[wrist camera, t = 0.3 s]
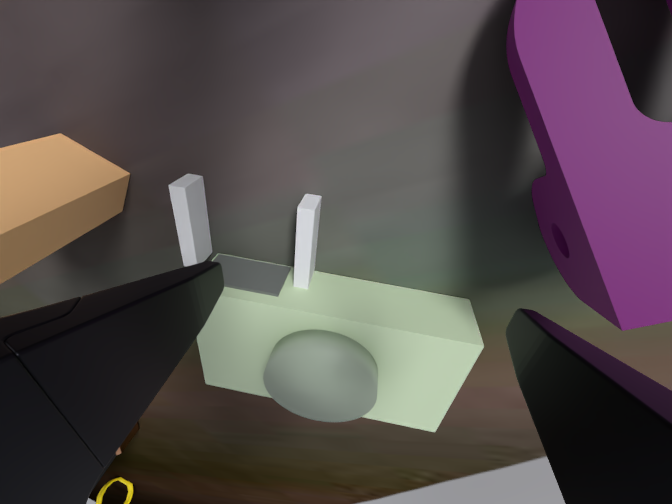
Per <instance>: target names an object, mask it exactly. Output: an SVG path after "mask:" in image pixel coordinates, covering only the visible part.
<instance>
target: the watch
mask: <svg viewBox="0 0 672 504" xmlns="http://www.w3.org/2000/svg"><path fill="white" fill-rule="evenodd" d="M117 480H119V481H120V482H122V483H124V484H125V485H127V487H128V495H127V499H126V501H125V502H124V504H129V503H130V501H131V499H132V495H133V491H134V490H133V484H132V483H130V482H129V481H127V480H125V479H123V478H122V477H118V478H115V479H112V480H110V481H109V482H108V483H106V484H105V485H104V486H103V487H102V489H101V490H100V492H99V494H98V496H97V501H96V504H101V503H102V497H103V494H104V492H105V491H106V489H107V487H108V486H110V485H111V484H112V483H113V482H114V481H117Z"/></svg>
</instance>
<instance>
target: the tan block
mask: <svg viewBox="0 0 672 504" xmlns="http://www.w3.org/2000/svg"><path fill="white" fill-rule="evenodd" d="M129 178H130V173H129V172H127V171H125V170H123V169H122V168H120V167H118V166H116V165H115V164H113V163H111V162H109V161H108V160H106V159H104V158H103V157H101V156H99V155H97V154H96V153H94V152H92V151H90V150H89V149H87V148H85V147H84V146H82V145H80V144H78V143H77V142H75V141H73V140H71V139H70V138H68V137H66V136H64V135H63V134H61V133H60V134H56V135H52V136H47V137H43V138H39V139H35V140H31V141H27V142H23V143H19V144H15V145H11V146H7V147H3V148H0V284H1V283H3V282H5V281H6V280H8V279H10V278H11V277H13V276H15V275H16V274H18V273H20V272H21V271H23V270H25V269H26V268H28V267H30V266H31V265H33V264H35V263H37V262H38V261H40V260H42V259H43V258H45V257H47V256H48V255H50V254H52V253H53V252H55V251H57V250H58V249H60V248H62V247H63V246H65V245H67V244H68V243H70V242H72V241H73V240H75V239H77V238H79V237H80V236H82V235H84V234H85V233H87V232H89V231H90V230H92V229H94V228H95V227H97V226H99V225H100V224H102V223H104V222H105V221H107V220H109V219H110V218H112V217H114V216H115V215H117V214H119V213H120V212H122V211H123V206H124V201H125V197H126V192H127V187H128V183H129Z"/></svg>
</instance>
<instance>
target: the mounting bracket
mask: <svg viewBox="0 0 672 504" xmlns="http://www.w3.org/2000/svg"><path fill="white" fill-rule="evenodd" d="M666 2H667V4H668V7H669V10H670V13H671V15H672V0H666ZM506 49H507V59H508V65H509V69H510V72H511V75H512V78H513V81H514V83H515V86H516V89H517V91H518V94H519V97H520V99H521V102H522V105H523V107H524V110H525V113H526V115H527V118H528V121H529V123H530V126H531V128H532V131H533V134H534V136H535V139H536V142H537V144H538V147H539V150H540V152H541V155H542V158H543V160H544V163H545V167H546V175H545V176H543V177H540V178H537V179H535V180H534V182H533V184H532V199H533V203H534V207H535V211H536V215H537V219H538V223H539V227H540V231H541V233H542V236H543V239H544V241H545V243H546V246H547V248H548V250H549V252H550V255H551V257H552V259H553V261H554V263H555V264H556V266H557V268H558V270H559V272H560V273H561V275H562V277H563V278H564V280H565V281H566V283H567V284H568V286H569V287H570V288H571V290H572V291H573V292H574V293H575V295H576V296H577V297H578V298H579V299H580V300H582V301H583V302H584V303H585V304H587V305H588V306H590V307H591V308H592V309H594V310H595V311H596V312H598V313H599V314H600V315H602V316H603V317H604V318H606V319H607V320H608V321H610V322H611V323H613V324H614V325H615V326H617V327H618V328H619V329H621V330H622V331H623V330H628V329H633V328H639V327H644V326H649V325H654V324H659V323H664V322H669V321H672V122H661V121H656V120H653V119H650V118H648V117H646V116H645V115H643V114H642V113H641V112H640V111H639V110H638V109H637V108H636V107H635V105H634V103H633V101H632V99H631V96H630V93H629V90H628V88H627V85H626V82H625V80H624V77H623V74H622V72H621V69H620V66H619V63H618V61H617V58H616V55H615V53H614V50H613V47H612V45H611V42H610V39H609V36H608V34H607V31H606V28H605V26H604V23H603V20H602V18H601V15H600V12H599V9H598V7H597V4H596V1H595V0H516V1H515V4H514V7H513V10H512V14H511V17H510V21H509V25H508V31H507V42H506Z"/></svg>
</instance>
